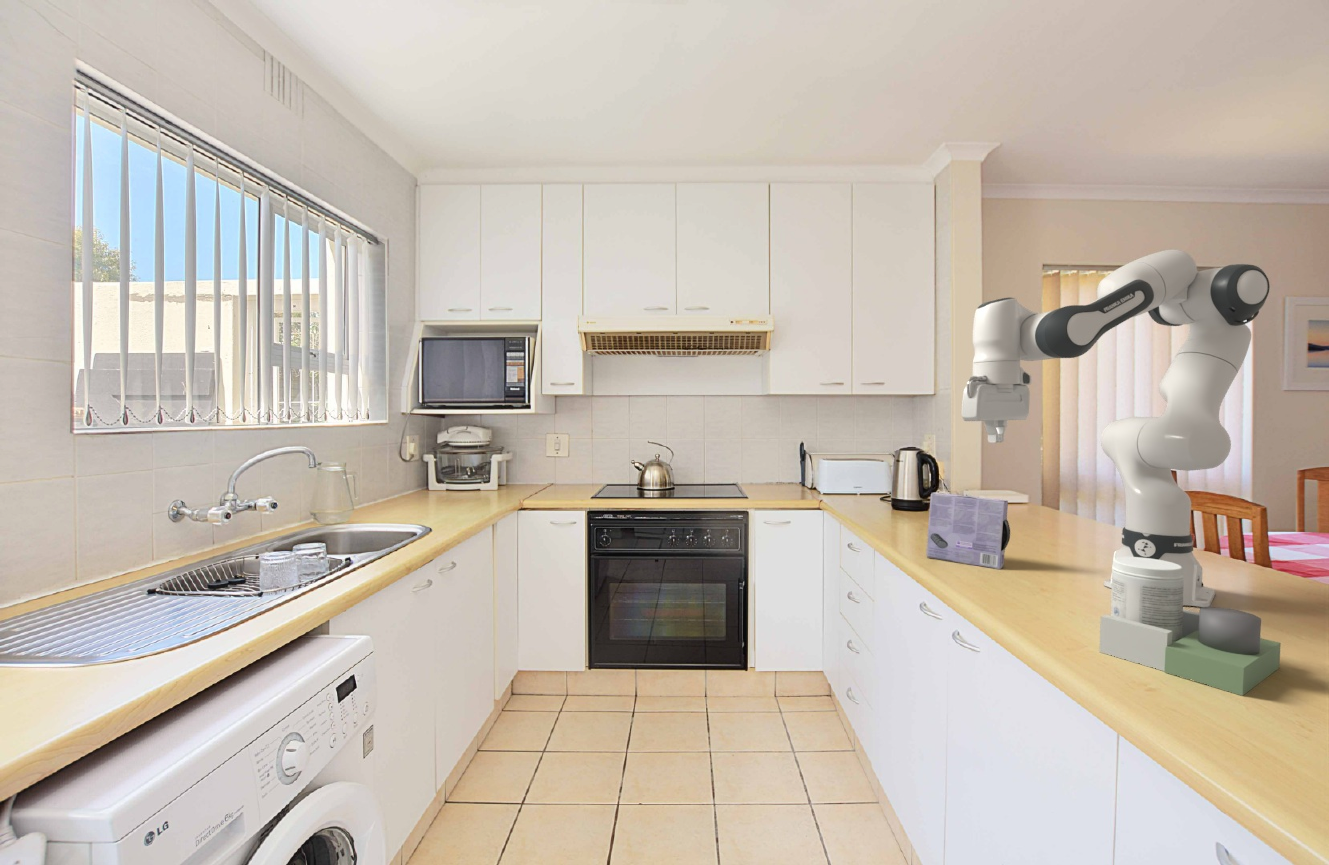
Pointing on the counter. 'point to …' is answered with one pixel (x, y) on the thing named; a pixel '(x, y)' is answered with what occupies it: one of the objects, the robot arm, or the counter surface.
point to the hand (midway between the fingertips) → (995, 442)
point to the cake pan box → (968, 530)
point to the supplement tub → (1148, 593)
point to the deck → (1198, 647)
